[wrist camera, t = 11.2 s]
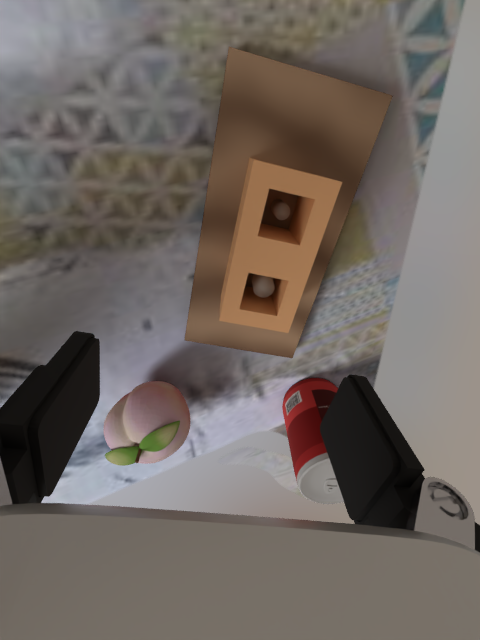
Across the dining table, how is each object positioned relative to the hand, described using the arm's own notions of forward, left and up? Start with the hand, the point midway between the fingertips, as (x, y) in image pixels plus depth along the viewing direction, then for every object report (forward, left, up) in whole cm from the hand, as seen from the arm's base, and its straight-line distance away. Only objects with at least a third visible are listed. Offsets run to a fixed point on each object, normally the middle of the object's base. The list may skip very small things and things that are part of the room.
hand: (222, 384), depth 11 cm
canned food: (-17, -14, -19) cm, 30 cm away
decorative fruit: (-19, +5, -19) cm, 28 cm away
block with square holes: (+1, -3, -18) cm, 18 cm away
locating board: (+2, -3, -19) cm, 19 cm away
